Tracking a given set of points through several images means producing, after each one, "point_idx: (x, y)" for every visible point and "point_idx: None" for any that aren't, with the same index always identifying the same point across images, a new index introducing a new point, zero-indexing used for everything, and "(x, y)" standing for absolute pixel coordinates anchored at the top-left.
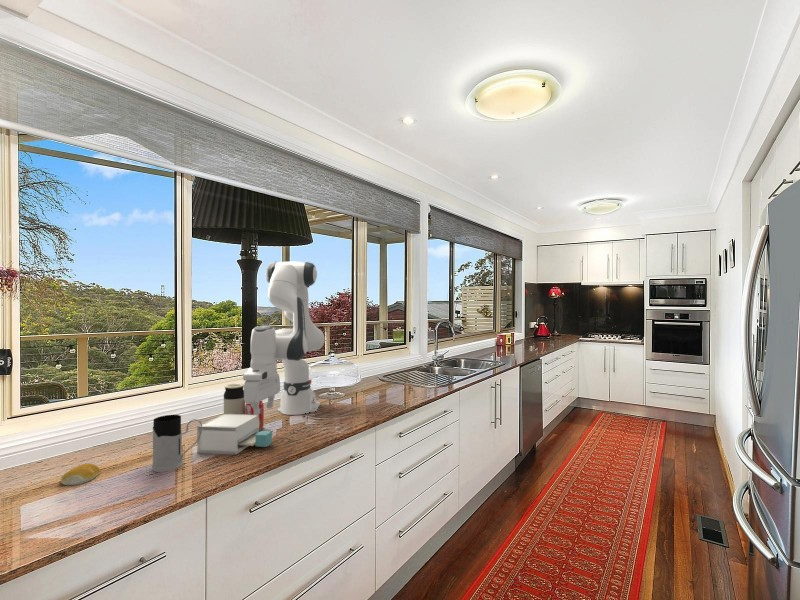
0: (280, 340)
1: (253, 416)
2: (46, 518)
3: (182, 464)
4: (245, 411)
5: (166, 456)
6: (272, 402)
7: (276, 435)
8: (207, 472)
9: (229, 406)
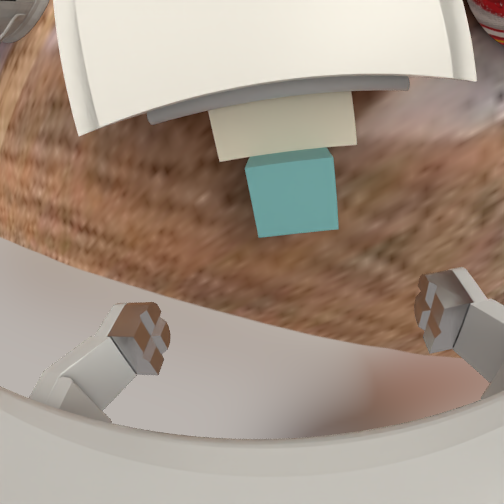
0: None
1: (426, 53)
2: None
3: (32, 26)
4: None
5: None
6: (457, 351)
7: (458, 144)
8: (27, 155)
9: None
